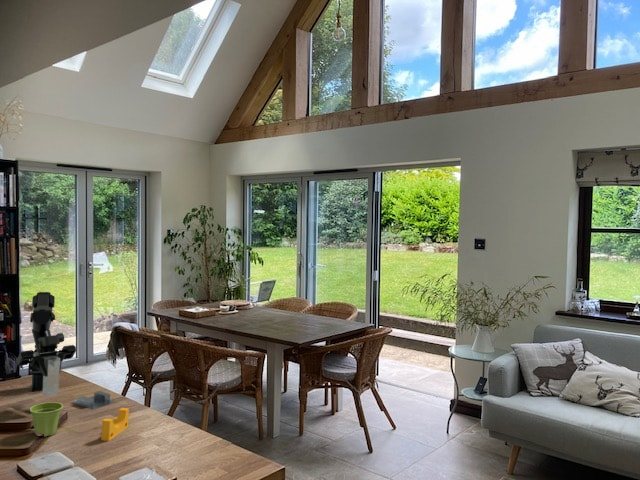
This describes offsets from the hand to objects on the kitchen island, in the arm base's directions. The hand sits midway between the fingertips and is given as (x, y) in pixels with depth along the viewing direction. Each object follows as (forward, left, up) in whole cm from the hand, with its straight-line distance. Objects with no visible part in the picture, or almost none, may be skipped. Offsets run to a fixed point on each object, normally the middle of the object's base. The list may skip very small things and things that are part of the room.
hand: (52, 375), depth 181 cm
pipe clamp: (+29, +14, -14) cm, 35 cm away
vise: (0, +14, -13) cm, 20 cm away
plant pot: (+20, -5, -14) cm, 24 cm away
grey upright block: (0, 0, -7) cm, 7 cm away
